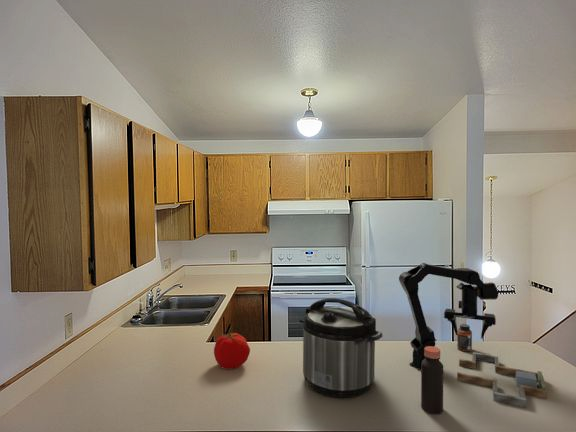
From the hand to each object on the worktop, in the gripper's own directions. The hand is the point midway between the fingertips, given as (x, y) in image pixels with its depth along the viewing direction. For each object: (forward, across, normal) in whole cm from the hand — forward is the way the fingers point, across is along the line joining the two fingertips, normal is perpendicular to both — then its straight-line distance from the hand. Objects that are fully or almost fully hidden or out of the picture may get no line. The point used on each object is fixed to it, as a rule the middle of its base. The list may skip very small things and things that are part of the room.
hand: (469, 336), depth 147 cm
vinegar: (+12, +10, +40) cm, 43 cm away
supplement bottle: (+12, +2, -16) cm, 21 cm away
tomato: (+12, +87, +45) cm, 99 cm away
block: (+12, -19, +8) cm, 24 cm away
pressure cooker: (+12, +43, +36) cm, 58 cm away
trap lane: (+12, -10, +8) cm, 18 cm away
